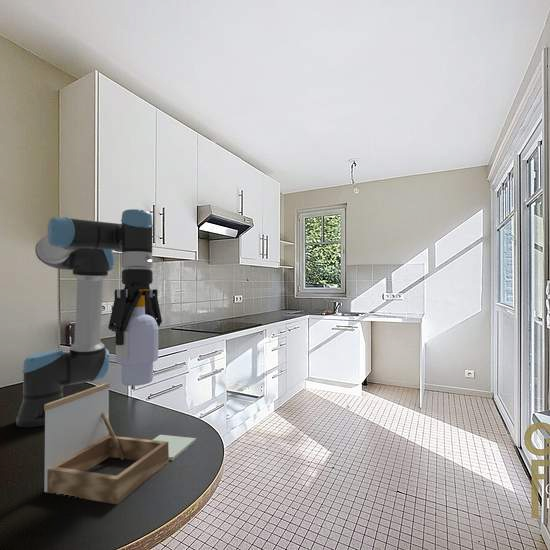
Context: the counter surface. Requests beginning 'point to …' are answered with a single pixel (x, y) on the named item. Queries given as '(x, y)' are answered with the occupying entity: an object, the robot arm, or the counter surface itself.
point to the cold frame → (104, 487)
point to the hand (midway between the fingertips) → (137, 354)
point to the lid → (74, 424)
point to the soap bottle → (140, 347)
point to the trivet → (176, 444)
